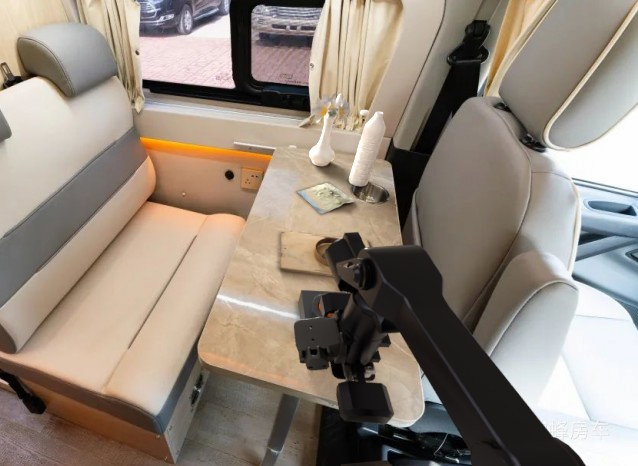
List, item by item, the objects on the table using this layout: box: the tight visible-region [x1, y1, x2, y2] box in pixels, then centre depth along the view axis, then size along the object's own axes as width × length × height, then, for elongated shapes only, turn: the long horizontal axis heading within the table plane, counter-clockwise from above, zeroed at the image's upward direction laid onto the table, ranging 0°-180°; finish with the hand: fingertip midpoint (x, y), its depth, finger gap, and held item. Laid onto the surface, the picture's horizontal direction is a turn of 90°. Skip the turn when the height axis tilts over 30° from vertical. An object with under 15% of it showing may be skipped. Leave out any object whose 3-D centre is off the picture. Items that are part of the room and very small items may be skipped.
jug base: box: [297, 289, 347, 320], centre depth 71 cm, size 12×10×7 cm
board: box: [279, 230, 371, 277], centre depth 89 cm, size 25×15×3 cm, turn 82°
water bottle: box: [348, 109, 387, 187], centre depth 108 cm, size 9×6×25 cm
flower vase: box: [309, 93, 351, 167], centre depth 119 cm, size 13×18×25 cm
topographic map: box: [297, 182, 355, 215], centre depth 109 cm, size 14×14×2 cm
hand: (338, 375), depth 53 cm, fingers closed
